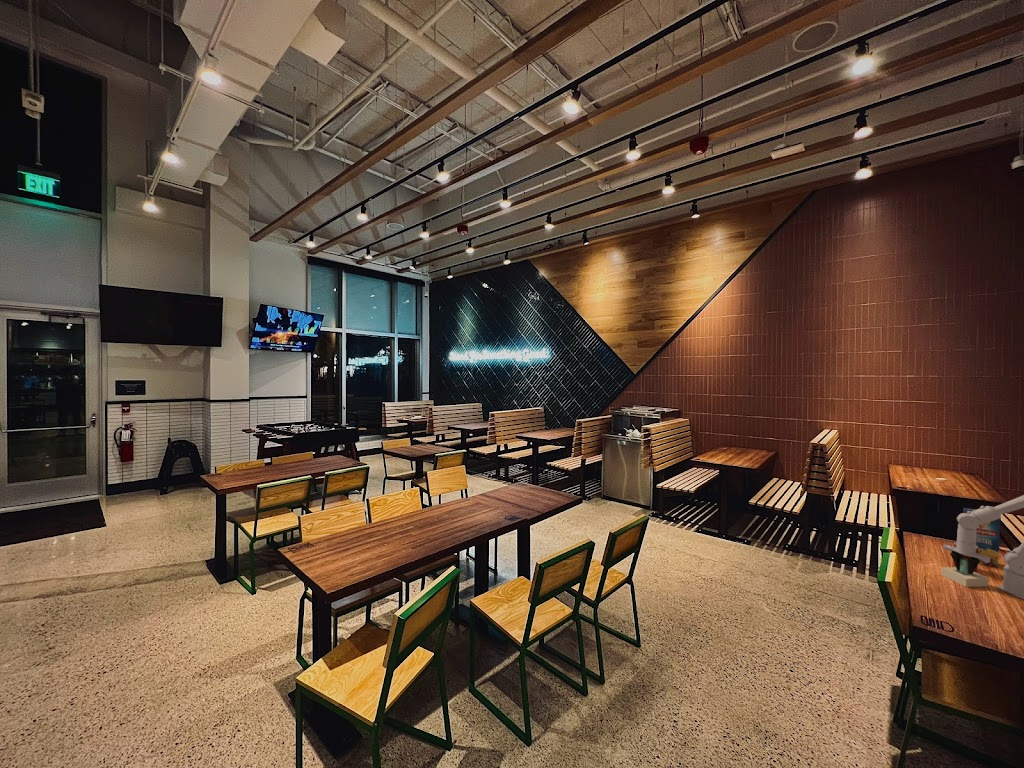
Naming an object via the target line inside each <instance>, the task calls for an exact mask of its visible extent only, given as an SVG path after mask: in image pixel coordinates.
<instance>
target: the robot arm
mask: <svg viewBox="0 0 1024 768" xmlns="http://www.w3.org/2000/svg"><path fill="white" fill-rule="evenodd" d="M1021 509H1024V494H1023V495H1021V496H1020V495H1019V496H1018V497H1015V498H1014V499H1011V500H1009V501H1005V502H1003V503H1001V504H998V505H996V506H989V505H986V506H984V505H981V506H980V507H979V508H978V509H974V511H971V512H970V511H968V512H967V513H963V512H962V513H960V514H958V516H957V517H956V521H957V523H958V524H957V532H956V534H957V535H956V536H957V537H956V541H957V547H954V546H953V545H949V544H943V545H942V549H943V550H946V551H950V553H949V554H950V555H949V556H951V558H952V561H953V560H954V562H955V565H956V569H957V570H960V558H963V555H965V556H968V557H971V558H968V559H967V560H968V565H969V568H968V574H973V572H975V571H974V570H975V568H976V566H977V565H980V564H979V563H980V562H981V561H984V562H985V563H989V562H990V558H989V557H986V556H983V555H981V554H978V553H976V536H977V533H976V529H977V528H978V527H979V525H980V524H985V523H988V522H991V521H994V520H997V519H999V518H1000V516H1002V515H1004V514H1008V513H1011V512H1014V511H1018V510H1021ZM1003 561H1004V562H1005V563H1006V564H1005V565H1004V567H1003V581H1002V585H996V586H995V587H996V588H997V589H999V590H1001V591H1003V592H1006V593H1008V594H1009V595H1010V594H1011V595H1013V596H1014V597H1017V598H1018V599H1022V600H1024V541H1022V543H1021V544H1020V545H1019V546H1018V547H1015V548H1013V550H1011V551H1009V552H1006V553H1005V554H1004V556H1003Z"/></svg>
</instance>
